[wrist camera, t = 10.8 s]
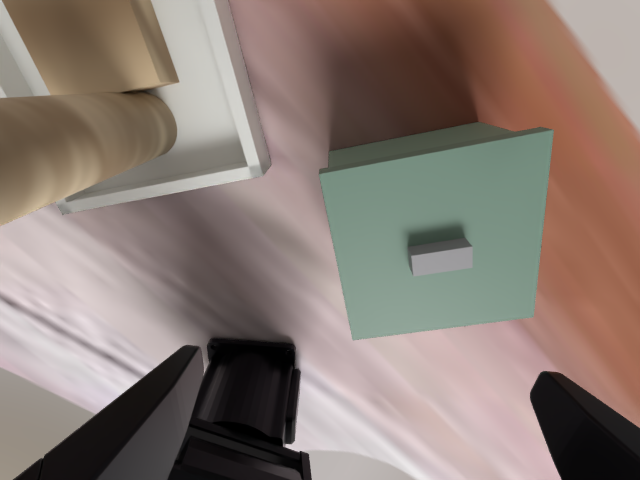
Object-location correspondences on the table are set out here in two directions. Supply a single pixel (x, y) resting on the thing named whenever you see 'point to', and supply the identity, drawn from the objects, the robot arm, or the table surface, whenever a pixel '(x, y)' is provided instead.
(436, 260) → the green lidded box
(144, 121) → the tan cylinder with block
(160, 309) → the table surface
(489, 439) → the table surface
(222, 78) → the tray
